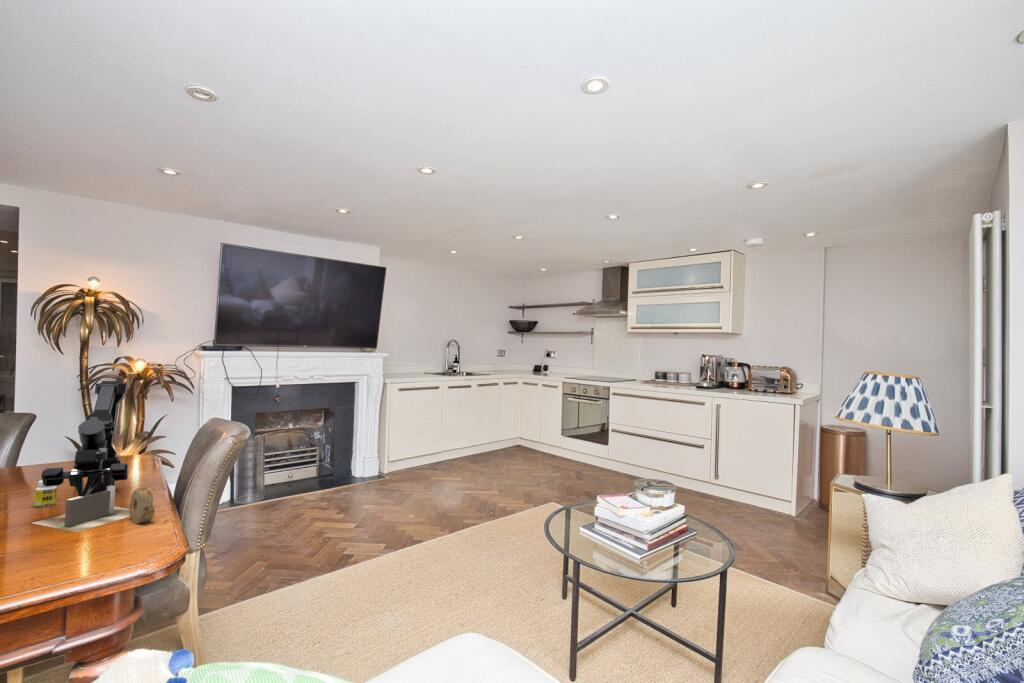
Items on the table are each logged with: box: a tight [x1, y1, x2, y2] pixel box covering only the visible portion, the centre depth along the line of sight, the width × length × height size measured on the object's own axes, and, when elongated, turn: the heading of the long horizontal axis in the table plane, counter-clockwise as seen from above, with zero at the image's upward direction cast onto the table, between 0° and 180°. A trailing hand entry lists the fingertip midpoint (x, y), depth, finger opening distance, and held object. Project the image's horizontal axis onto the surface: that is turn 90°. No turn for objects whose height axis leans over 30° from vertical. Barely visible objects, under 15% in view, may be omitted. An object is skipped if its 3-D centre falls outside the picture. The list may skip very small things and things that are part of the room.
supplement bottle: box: [33, 479, 58, 509], centre depth 142 cm, size 5×5×8 cm
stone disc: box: [128, 486, 156, 524], centre depth 134 cm, size 10×4×10 cm, turn 57°
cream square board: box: [32, 506, 131, 533], centre depth 135 cm, size 18×18×1 cm
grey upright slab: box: [64, 484, 117, 527], centre depth 132 cm, size 12×2×8 cm, turn 168°
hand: (81, 500), depth 131 cm, fingers closed
